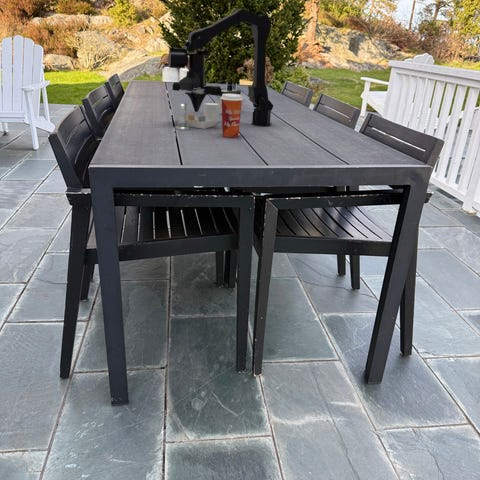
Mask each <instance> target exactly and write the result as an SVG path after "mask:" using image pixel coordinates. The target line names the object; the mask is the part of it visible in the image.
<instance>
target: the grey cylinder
mask: <svg viewBox="0 0 480 480" xmlns="http://www.w3.org/2000/svg"><path fill="white" fill-rule="evenodd" d="M219 112H220V104H217V103H215V102H204V103H203V115H204V116H205V119H207V120H214V121H215V124H217V123H219V121H220V120H219V118H220V114H219Z"/></svg>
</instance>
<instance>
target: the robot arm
mask: <svg viewBox="0 0 480 480" xmlns="http://www.w3.org/2000/svg"><path fill="white" fill-rule="evenodd" d="M240 23H242V24H244V25H246V26H249V28H251V29H250V30H251V35H252V37H253V42H254V47H253V48H254V49H253V51H254V53H253V80H252V84H251V85H248V86H247V89H248V94H247V97H248V98H249V101H250V102H251V103H252V106H253V111H252V118H251V120H252V121H251V125H254V126H262V127H267V126H271V125H272V122H271V115H272V114H271V113H272V110H273V107H274V104H273V103H272V102H271V100H270V99H269V92H268V88H267V84H266V64H267V62H266V61H267V59H266V58H267V42H268V39H269V37H270V34H271V29H272V19H271V18H270V16H268V15H265V14H260V15H259V14H257V13H253V12H250V11H248V10H245V9H244V8H238V9H236V10H235V11H234V12H232V13H230V14H228V15H227V16H224V17H223V18H221V19H220V20H218V21H216V22H214V23H212V24H211V25H209V26H206V27H203V28H199V29H196V30H193V31H191V32H190V33H189V34H188V37H187V41H186V43H184V45H183V47H182V48H179V47H172V46H171V47H169V48H168V49H169V50H168V56H167V63H168V68H170V69H171V68H172V69H185V68H186V67H187V66H188V70H187V71H186V76H184V77H183V78H181V79H180V80H179V81H177V82H173V84H172V85H171V86H172V88H171V89H172V91H175V92H176V91H177V92H178V91H180V90H181V91H185V92H184V94H185V95H186V96H188V97H189V98H190V101H191V104H192V107H193V110H194V112H195V113H198V112H199V110H200V108H201V106H202V103H203V101H204V99H205V98H206V96H208V95H210V96H215V95H216V94H221V89H222V88H221V86H220V85H214V84H213V85H212V84H211V85H210V84H209V85H207V83H206V82H205V76H206V75H207V71H205V57H206V56H207V57H210V56H211V53H209V51H208V50H207V48H204V47H205V46H207V45H208V44H209V43H210V42H211V41H212V40H213V39H214V38H216V36H219V35H220V34H222V33H224V32H226V31H227V30H229V29H230V28H232V27H234V26H235V25H238V24H240ZM202 48H203V49H202ZM197 49H198V50H197ZM201 49H202V50H201ZM193 51H194V52H193Z"/></svg>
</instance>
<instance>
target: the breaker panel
mask: <svg viewBox="0 0 480 480" xmlns="http://www.w3.org/2000/svg"><path fill="white" fill-rule="evenodd" d="M187 126H189V128H197V129H202V130H205V129H208V128H211V127H216V123H215V121H214V120H207V119H205V116H203V115H201V116H198V118H197V117H195V114H188V115H187Z"/></svg>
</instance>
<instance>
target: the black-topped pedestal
mask: <svg viewBox="0 0 480 480" xmlns="http://www.w3.org/2000/svg"><path fill="white" fill-rule="evenodd" d="M237 86H238V85H237V82H236V83H235V82H234V83H233V82H230V83H229V82H226V87H225V88H221V94H216V95H214V96H215V102H214V103H217V104H220V112H219V115H222V99H221V97H222V94H239V95H242V91H241V90H240V89H239V90H238V89H237V88H238V87H237Z"/></svg>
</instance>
